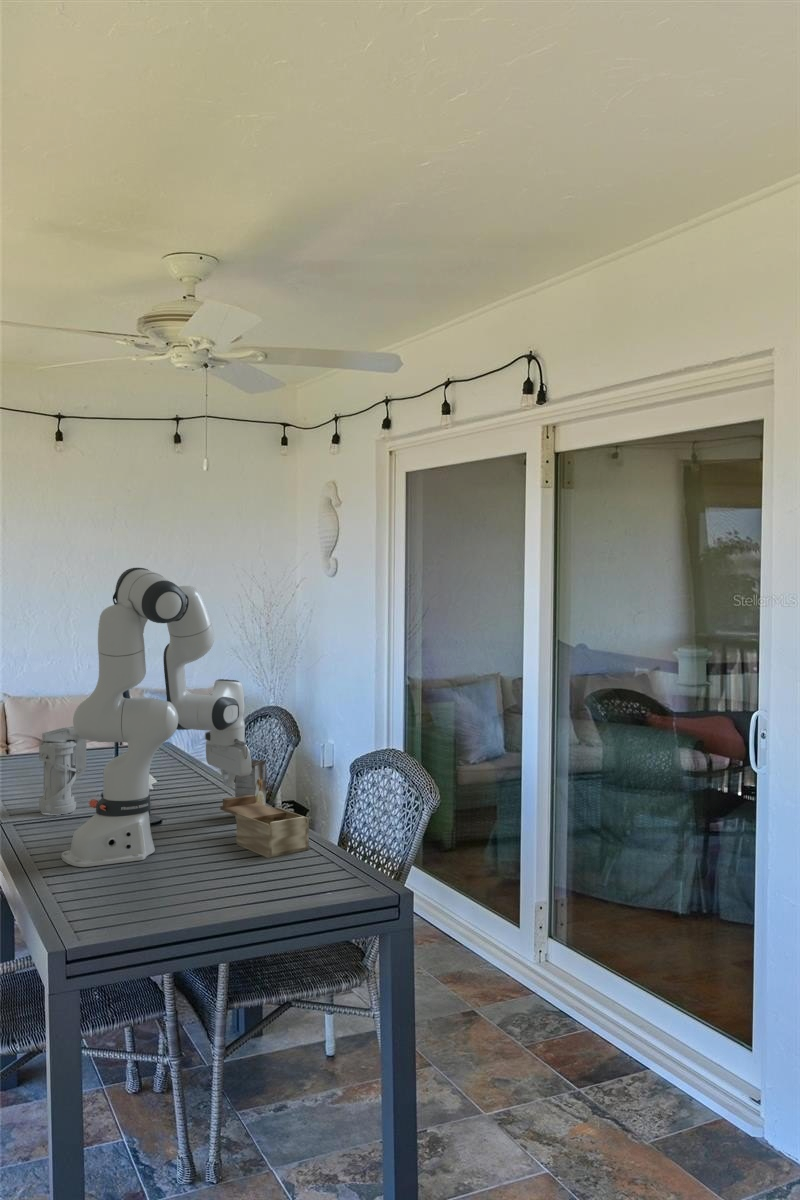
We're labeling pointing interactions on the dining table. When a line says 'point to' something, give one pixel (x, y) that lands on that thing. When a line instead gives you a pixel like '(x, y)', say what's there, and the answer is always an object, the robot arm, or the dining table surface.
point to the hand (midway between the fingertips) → (228, 786)
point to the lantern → (61, 768)
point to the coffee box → (253, 782)
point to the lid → (249, 808)
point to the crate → (274, 834)
